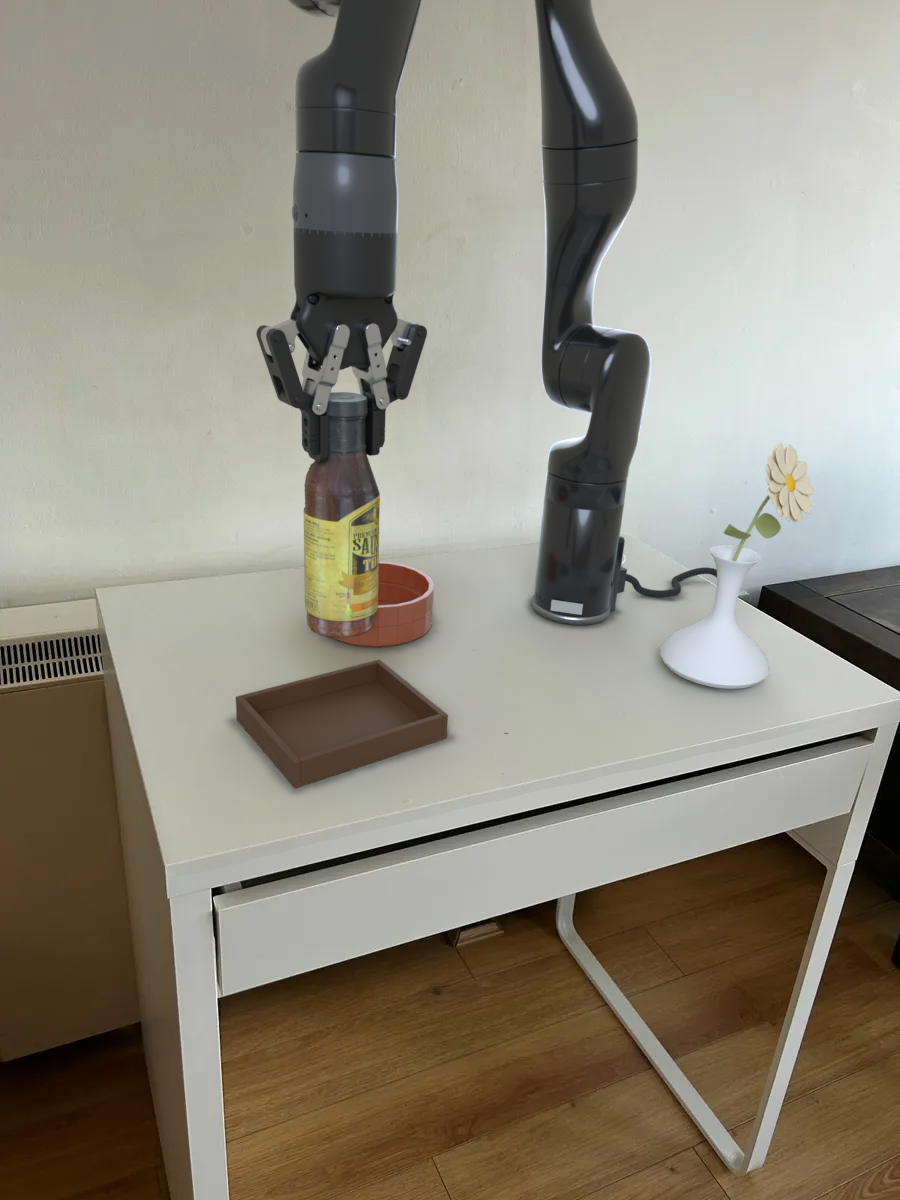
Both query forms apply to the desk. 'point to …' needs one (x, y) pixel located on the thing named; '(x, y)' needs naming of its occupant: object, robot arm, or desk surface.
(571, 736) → the desk surface
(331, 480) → the sauce bottle
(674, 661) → the flower in vase
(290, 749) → the tray
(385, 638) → the bowl
